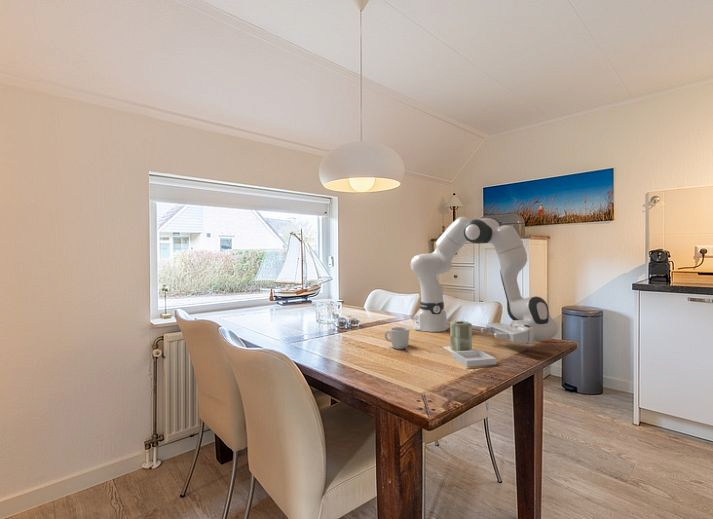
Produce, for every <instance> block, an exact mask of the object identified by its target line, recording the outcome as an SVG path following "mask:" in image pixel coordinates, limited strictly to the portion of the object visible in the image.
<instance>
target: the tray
mask: <svg viewBox="0 0 713 519" xmlns="http://www.w3.org/2000/svg"><path fill="white" fill-rule="evenodd" d="M451 358H452V359H454V360H455V361H457V362H459V363H460V364H462V365H463V366H465V367H466V370H477V369H478V370H479V369H489V368H497V358H496V357H495V356H492V355H490V354H488V353H486V352H484V351H482V350H481V349H473V350H470V351H457V352H452V353H451Z"/></svg>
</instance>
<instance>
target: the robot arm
mask: <svg viewBox="0 0 713 519" xmlns="http://www.w3.org/2000/svg"><path fill="white" fill-rule="evenodd" d="M467 241H468V242H469V243H471V244H479V245H480V244H488V243H490V244H492V246H493V247H494V249H495V251H496V254H497V257H498V261H499V265H500V280H501V283H502V287H503V290H504V294H505V298H506V310H507V315H508V316H509V318H510V319H511V320H512V321H511V322H509V324H505V323H502V322H488V323H486V324H485V327H482V328H480V332H481V333H482V334H488V333H489V334H491V335H493V338H494V339H497V340H498V339H501V340H507V341H508V342H511V343H515V344H528V345H533V344H534V342H542V341H547V340H551V339H553V338H555V336H557V334H558V331H559V326H558V324H557V322H556V321H555V320H554V319H553V317H552V316H551V314H550V311H549V305H548V304H547V301H546V300H545V299H544V298H542V297H540V296H531V297H526V298H525V297H524V298H523V296H522V294H521V291H520V287H519V283H518V276H519V273H520V272H521V271H522V270H523V269H524V268H525V266H526V265H527V262H528V254H527V251H526V248H525V245H524V243H523V240H522V238H521V237H520V235H519V234H518V232H517V230H516V229H515V227H514V226H512V225H509V224H508V225H507V224H505V225H504V224H503V225H502V223H501V222H500V220H498V219H497V218H494V217H481V218H475V219H472V220H471V219H470V218H468V217H466V216H459V217H457V218H456V219H455V220H454V221H453V222H452V223H450V225H448V227H446V229H445V230H444V232H443V233H442V234H440V237H438V239H437V240H436V242H435V247H436V248H435V250H434V251H432V252H431V253H420V254H416V255H414V256H413V257H412V258H411V261H410V268H411V271H412V272H413V274H414V275H416V278H417V279H418V282H419V286H420V302H419V309H418V310H417V311H416V313H415V315H413V317H412V319H413V322H410V325H411V327H412V328H413V330H414V331H419V332H421V331H423V332H429V333H430V332H431V333H435V332H436V333H439V332H445V331H446V330H448V329H450V325H448V319H447V312H446V311H445V310H444V309H445V304H444V288H443V285H442V284H441V283H440V282H439V280H438V278H437V277H438V276H437V275H442V274H445V273H447V272H449V271H450V270H451V268H452V266H453V262H452V260H453V258H454V257H455V255H456V254H457V253H458V252H459V250H460V249H461V248H462V247H464V245H465V244H466V242H467Z"/></svg>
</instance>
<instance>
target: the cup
mask: <svg viewBox="0 0 713 519" xmlns="http://www.w3.org/2000/svg"><path fill="white" fill-rule="evenodd" d="M388 334H389V335H390V338H388ZM409 338H410V328H409V327H405V326H404V327H403V326H394V327H391V328H390V329H389V330H386V331H385V332H384V339H385V340H386V341H387V342H390V343H391V346H392V348H394V349H397V350H404V349H406V348H407V347H408V346H409V340H410V339H409Z"/></svg>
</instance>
